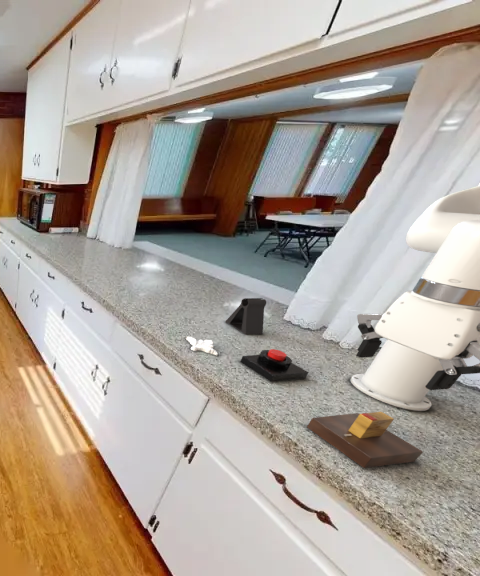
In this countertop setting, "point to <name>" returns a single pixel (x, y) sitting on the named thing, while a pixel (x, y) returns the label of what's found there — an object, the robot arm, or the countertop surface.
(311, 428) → the plate
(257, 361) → the black button base
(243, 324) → the phone stand
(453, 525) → the countertop surface
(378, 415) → the block
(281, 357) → the button
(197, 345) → the acanthus leaf ornament
